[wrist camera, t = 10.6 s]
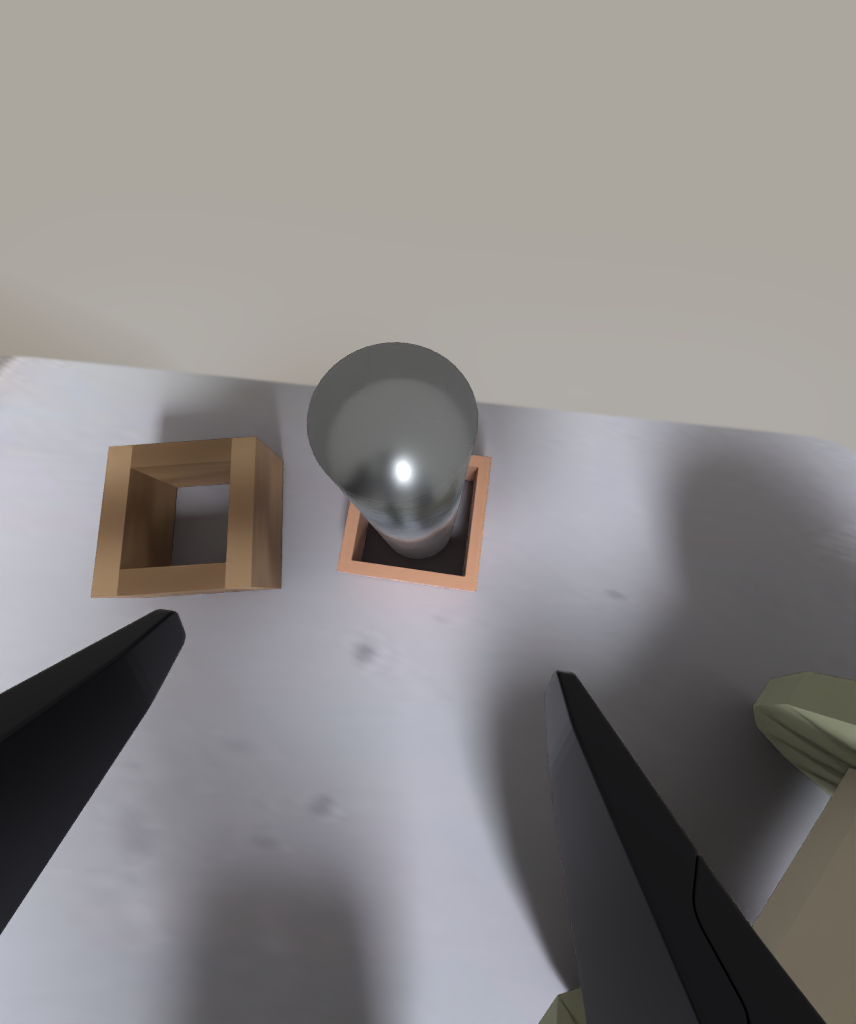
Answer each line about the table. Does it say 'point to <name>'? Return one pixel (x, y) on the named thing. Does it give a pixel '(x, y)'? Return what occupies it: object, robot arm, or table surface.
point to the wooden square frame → (151, 512)
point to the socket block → (467, 582)
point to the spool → (805, 849)
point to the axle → (397, 440)
